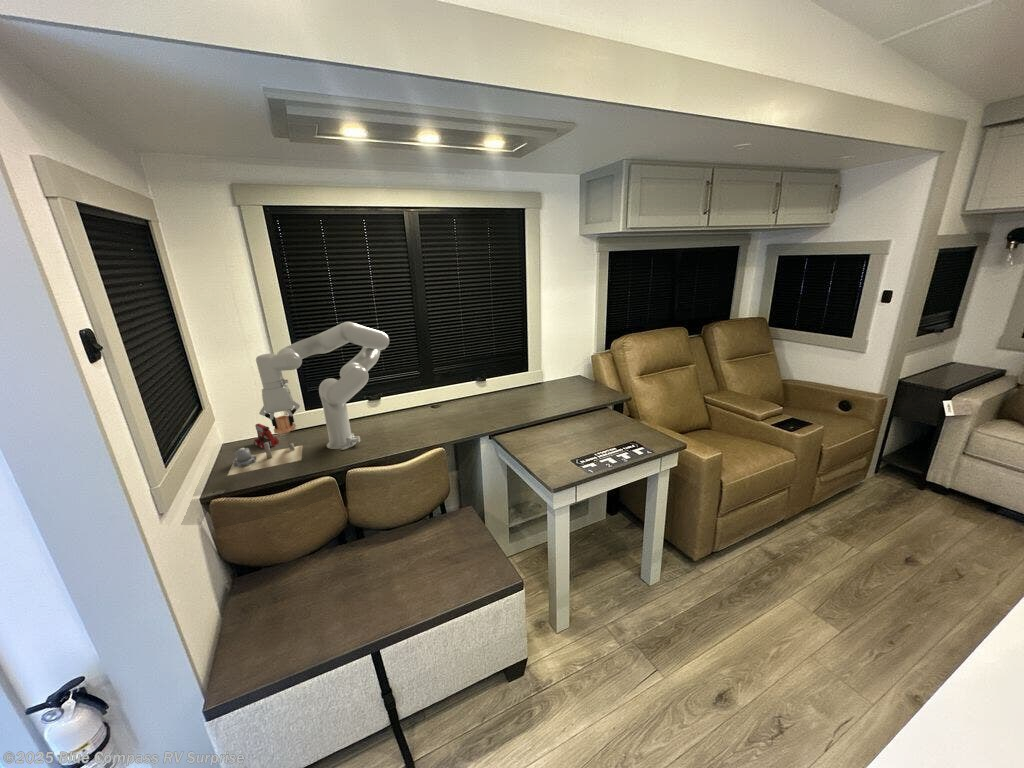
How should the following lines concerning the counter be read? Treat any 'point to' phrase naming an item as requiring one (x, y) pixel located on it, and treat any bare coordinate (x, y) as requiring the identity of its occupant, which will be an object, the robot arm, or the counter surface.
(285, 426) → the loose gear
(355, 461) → the counter surface
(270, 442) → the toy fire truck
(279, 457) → the gear board
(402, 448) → the counter surface
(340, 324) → the robot arm
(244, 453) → the grey octopus toy
